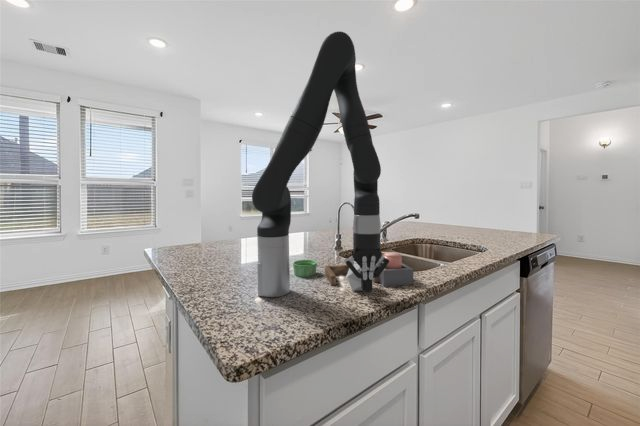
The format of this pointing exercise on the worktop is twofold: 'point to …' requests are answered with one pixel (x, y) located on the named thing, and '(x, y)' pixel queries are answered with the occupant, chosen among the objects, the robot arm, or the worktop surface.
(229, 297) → the worktop surface
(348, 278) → the die
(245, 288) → the worktop surface
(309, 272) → the ramekin
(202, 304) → the worktop surface
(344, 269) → the walnut bay
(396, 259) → the popper button
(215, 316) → the worktop surface
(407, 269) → the box
